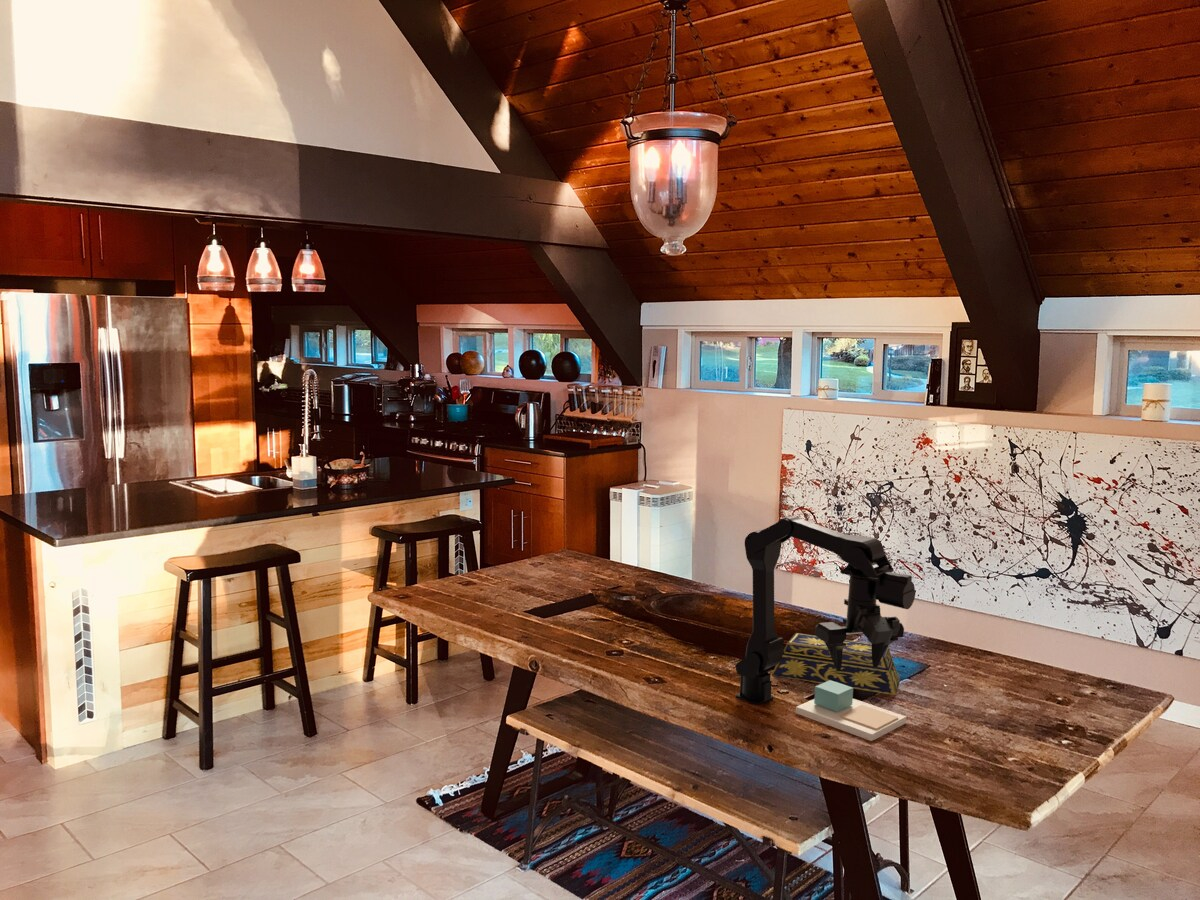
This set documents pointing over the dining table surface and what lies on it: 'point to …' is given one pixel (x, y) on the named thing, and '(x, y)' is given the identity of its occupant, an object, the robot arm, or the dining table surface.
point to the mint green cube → (833, 695)
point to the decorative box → (816, 665)
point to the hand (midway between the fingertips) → (856, 668)
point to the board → (855, 718)
